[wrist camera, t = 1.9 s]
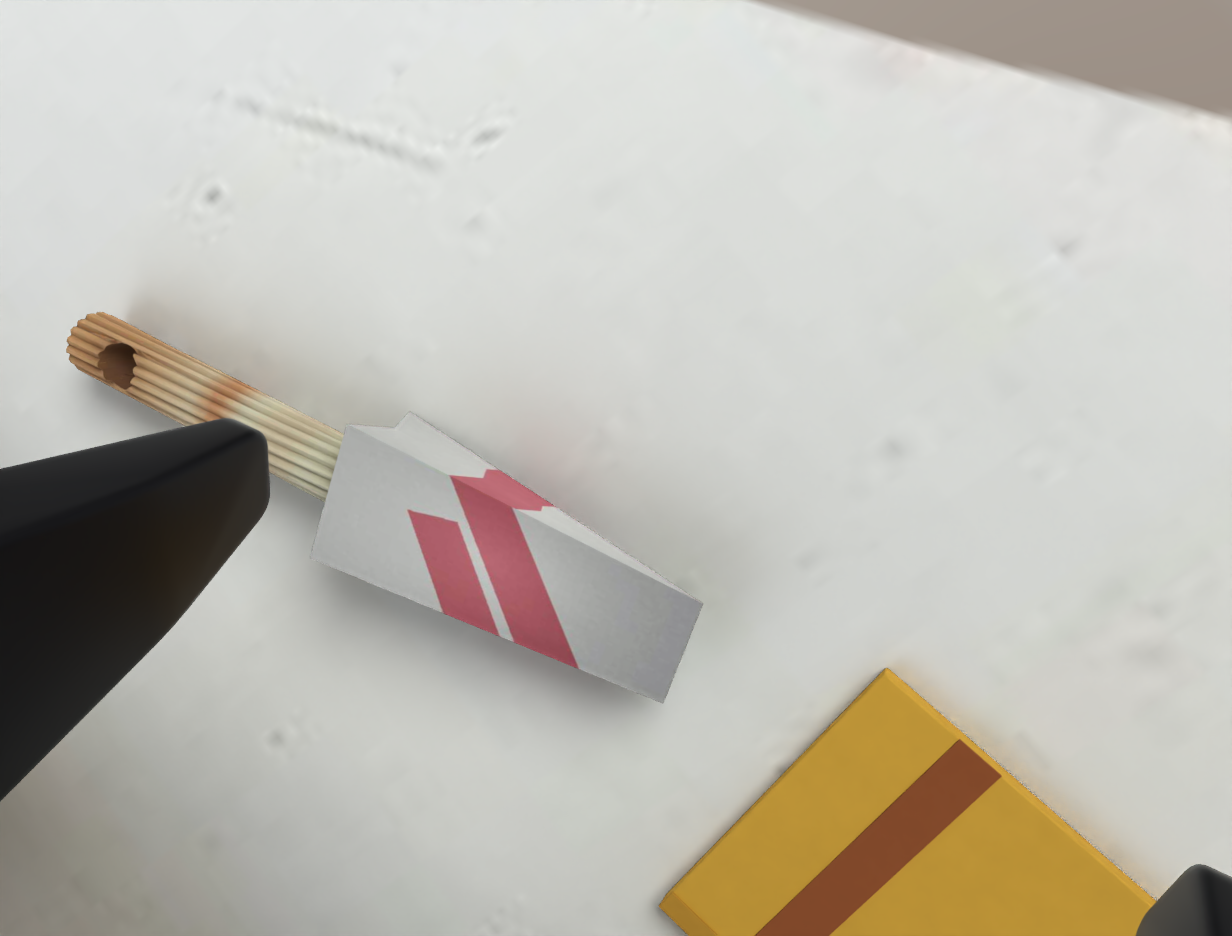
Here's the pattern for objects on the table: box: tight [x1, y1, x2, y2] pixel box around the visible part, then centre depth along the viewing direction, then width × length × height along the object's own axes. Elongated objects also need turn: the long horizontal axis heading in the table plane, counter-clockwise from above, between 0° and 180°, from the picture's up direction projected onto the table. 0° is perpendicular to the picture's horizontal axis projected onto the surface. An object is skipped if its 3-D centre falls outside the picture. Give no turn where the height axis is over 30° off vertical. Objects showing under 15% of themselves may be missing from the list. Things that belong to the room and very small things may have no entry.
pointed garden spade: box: [66, 312, 703, 703], centre depth 28 cm, size 4×3×20 cm
